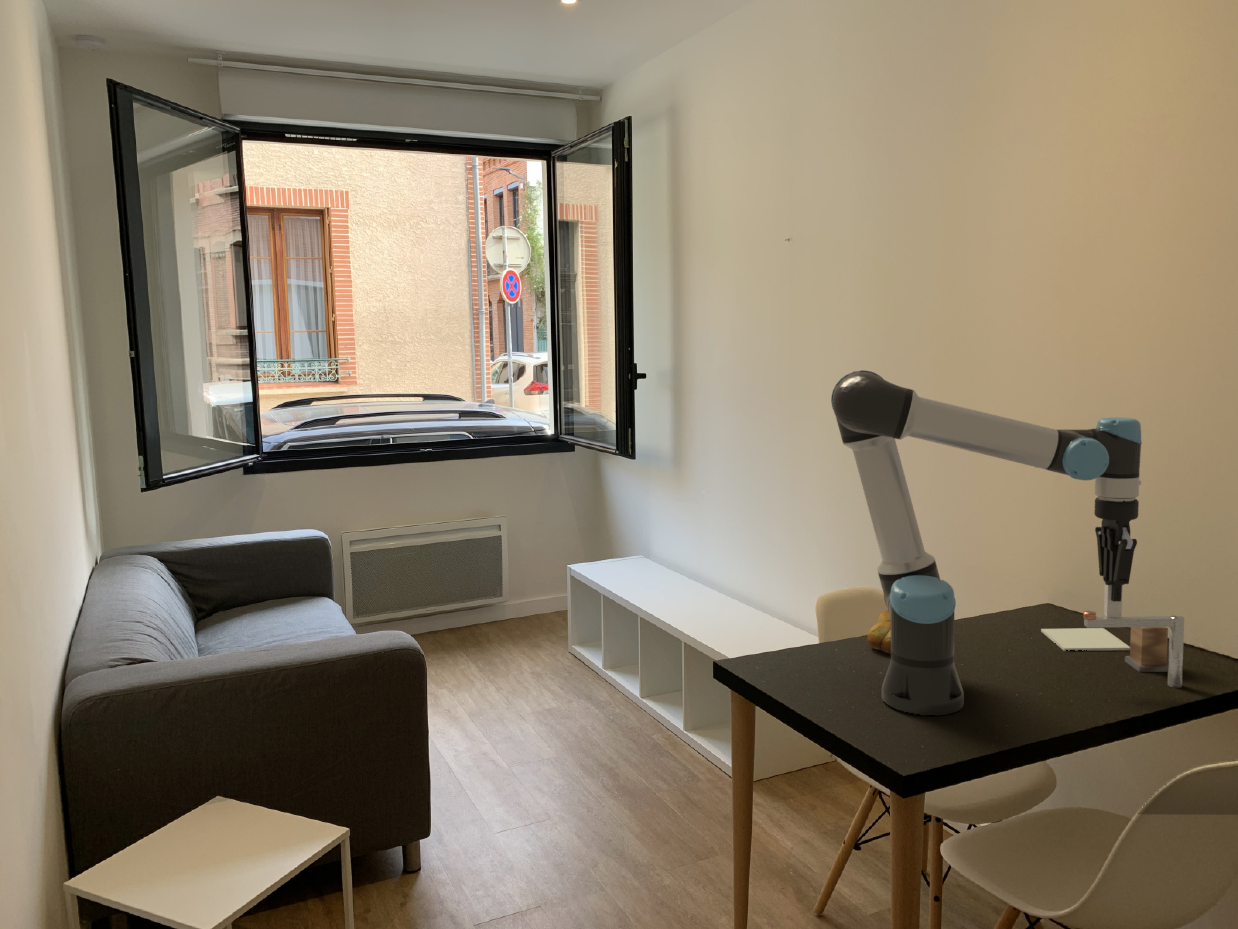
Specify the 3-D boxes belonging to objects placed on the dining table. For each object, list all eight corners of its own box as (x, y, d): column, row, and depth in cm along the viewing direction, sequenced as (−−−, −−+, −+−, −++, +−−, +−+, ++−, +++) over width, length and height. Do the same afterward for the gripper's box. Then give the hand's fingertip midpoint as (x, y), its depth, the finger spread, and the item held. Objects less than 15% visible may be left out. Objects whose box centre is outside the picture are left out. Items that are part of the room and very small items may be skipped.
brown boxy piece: (1139, 672, 190) (1140, 629, 189) (1124, 661, 197) (1126, 620, 195) (1171, 671, 190) (1173, 629, 189) (1156, 661, 196) (1157, 619, 195)
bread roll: (933, 654, 206) (933, 619, 205) (903, 663, 201) (903, 627, 200) (888, 639, 217) (888, 606, 216) (858, 648, 212) (858, 614, 211)
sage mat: (1064, 651, 204) (1064, 648, 204) (1041, 631, 218) (1041, 629, 218) (1130, 650, 203) (1130, 647, 203) (1103, 630, 217) (1103, 628, 217)
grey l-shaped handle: (1184, 687, 181) (1187, 613, 179) (1084, 688, 183) (1086, 614, 181) (1178, 683, 183) (1180, 609, 181) (1079, 683, 185) (1081, 610, 183)
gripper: (1153, 503, 173) (1148, 625, 176) (1121, 491, 186) (1117, 606, 189) (1111, 504, 174) (1107, 626, 177) (1082, 492, 187) (1079, 606, 190)
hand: (1112, 615), depth 183 cm, fingers closed
